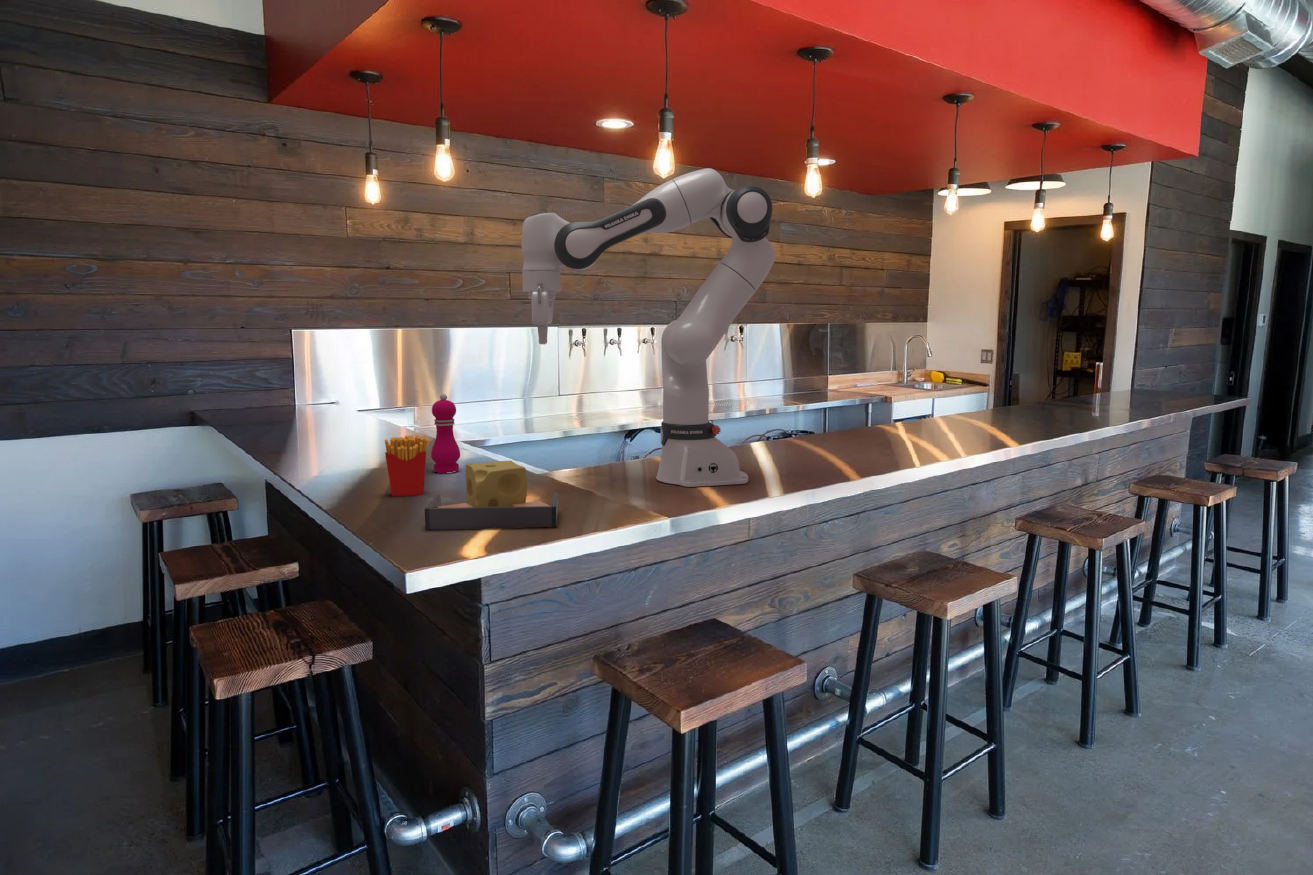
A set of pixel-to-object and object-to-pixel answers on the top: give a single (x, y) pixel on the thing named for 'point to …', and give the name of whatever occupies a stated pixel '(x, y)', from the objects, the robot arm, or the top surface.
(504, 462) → the cheese
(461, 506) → the tile
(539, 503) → the tile
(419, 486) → the french fries
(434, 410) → the pepper mill
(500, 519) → the box
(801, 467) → the top surface
